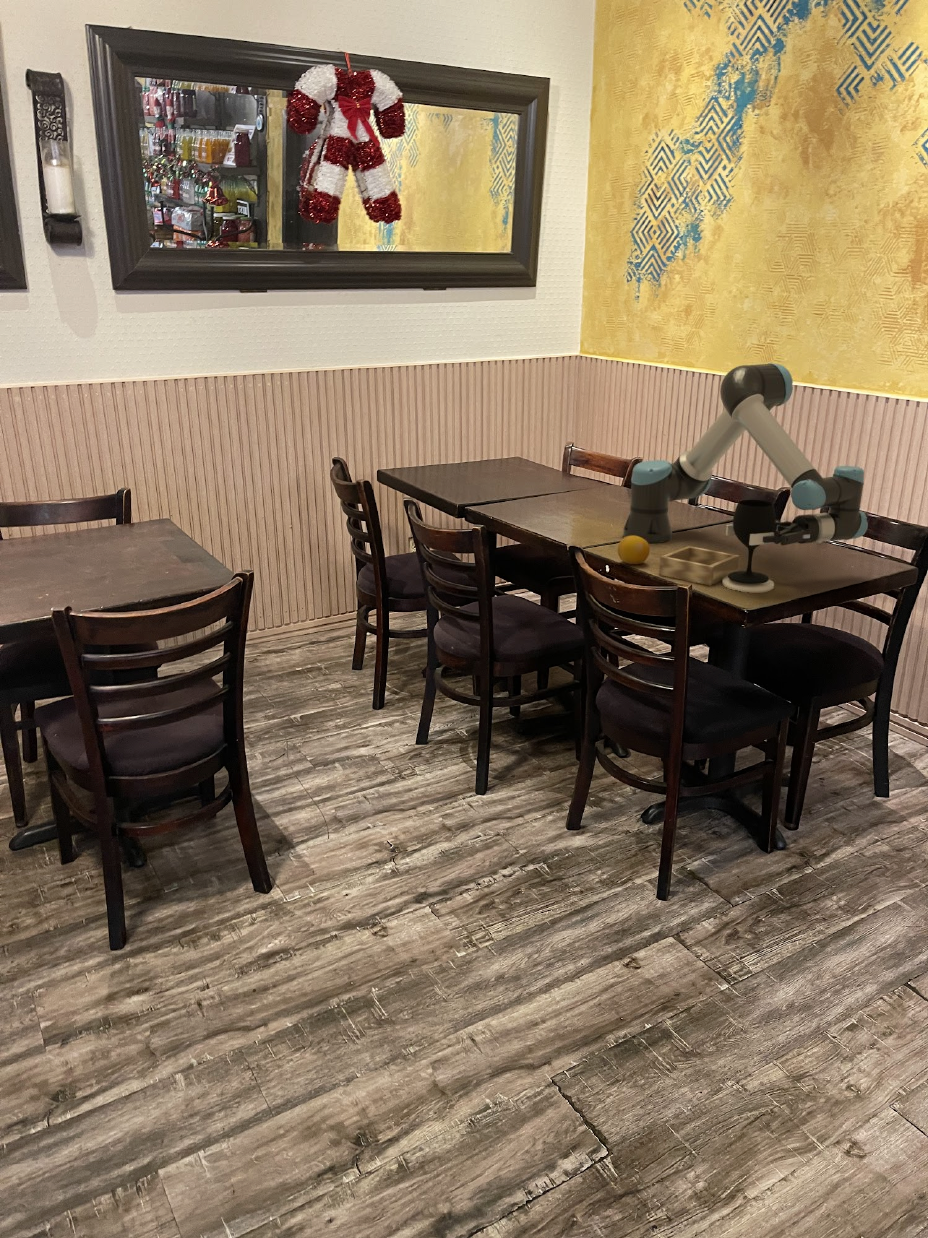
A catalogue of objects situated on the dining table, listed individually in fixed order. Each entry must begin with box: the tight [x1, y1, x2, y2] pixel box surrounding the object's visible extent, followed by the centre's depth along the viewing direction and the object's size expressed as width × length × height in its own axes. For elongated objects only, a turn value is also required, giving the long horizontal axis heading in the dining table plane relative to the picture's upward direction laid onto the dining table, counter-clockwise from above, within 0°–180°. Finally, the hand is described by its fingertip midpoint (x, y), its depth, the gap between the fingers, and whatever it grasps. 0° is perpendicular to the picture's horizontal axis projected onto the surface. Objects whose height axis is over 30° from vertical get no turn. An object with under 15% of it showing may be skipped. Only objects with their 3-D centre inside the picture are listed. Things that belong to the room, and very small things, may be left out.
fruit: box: [617, 536, 651, 565], centre depth 268 cm, size 9×8×8 cm
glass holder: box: [658, 545, 740, 586], centre depth 259 cm, size 15×15×5 cm
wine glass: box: [728, 499, 776, 584], centre depth 245 cm, size 10×10×20 cm
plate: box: [721, 576, 775, 594], centre depth 249 cm, size 13×13×1 cm
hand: (738, 534), depth 244 cm, fingers closed on wine glass, 10 cm apart
